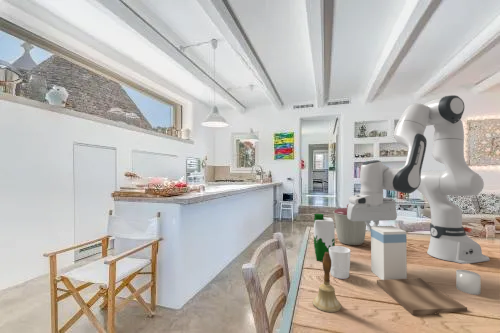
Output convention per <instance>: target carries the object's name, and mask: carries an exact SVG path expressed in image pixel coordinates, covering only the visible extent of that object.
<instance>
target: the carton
mask: <svg viewBox="0 0 500 333" xmlns="http://www.w3.org/2000/svg"><path fill="white" fill-rule="evenodd" d="M370 226H371V231H370V251H371V252H370V254H371V255H370V257H371V258H370V260H371V261H370V262H371V263H370V264H371V267H370V268H371V273H373V275H375V276H376V277H378V278H379V280H388V279H408V276H407V275H408V274H407V272H408V271H407V270H408V269H407V268H408V267H407V262H408V261H407V231H406V230H405V229H401V228H398V227H396V226H393V225H378V226H373V225H370Z"/></svg>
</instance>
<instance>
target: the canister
mask: <svg viewBox="0 0 500 333" xmlns="http://www.w3.org/2000/svg"><path fill="white" fill-rule="evenodd" d="M348 205H349V203H348V204H347V205H346V207H339V208H336V209H335V210H333V211H332V213H333V216H334V226H335V233H336V237H337V240H338V242H339V243H341V244H344V245H349V246H359V245H362V244H364V242H365V239H366V233H367V225H366V223H365V221H350V220H349V219H348V218H347V208H348Z"/></svg>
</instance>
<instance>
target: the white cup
mask: <svg viewBox="0 0 500 333" xmlns="http://www.w3.org/2000/svg"><path fill="white" fill-rule="evenodd" d="M329 254H330V258H331V270H330V275H331V276H332V277H333V278H336V279H339V280H341V279H344V280H345V279H348V278H349V277H350V268H351V249H350V248H349V247H345V246H342V245H341V246H340V245H335V246H331V247H329Z"/></svg>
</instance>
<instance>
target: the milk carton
mask: <svg viewBox="0 0 500 333" xmlns="http://www.w3.org/2000/svg"><path fill="white" fill-rule="evenodd" d="M313 218H314V219H313V247H314V254H315V257H316V261H319V262H323V257H324V254H325V252H329V247H331V246H336V244H335V243H336V237H335V236H336V234H335V233H336V228H335V220H333V219H334V218H332V217H326V216H325V217H324V213H314V217H313Z"/></svg>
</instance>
